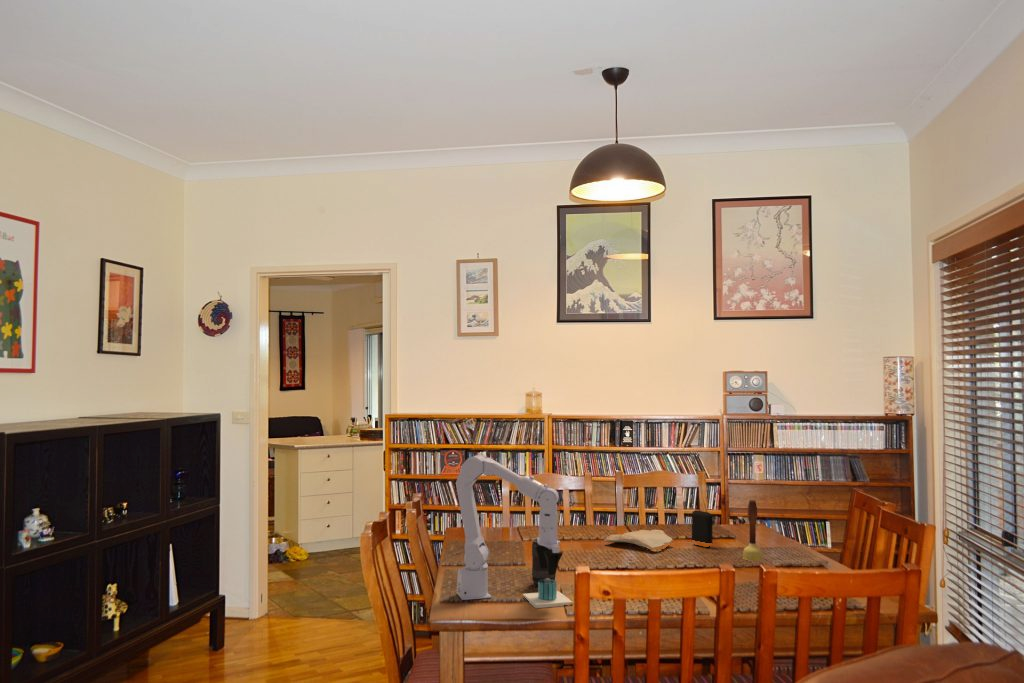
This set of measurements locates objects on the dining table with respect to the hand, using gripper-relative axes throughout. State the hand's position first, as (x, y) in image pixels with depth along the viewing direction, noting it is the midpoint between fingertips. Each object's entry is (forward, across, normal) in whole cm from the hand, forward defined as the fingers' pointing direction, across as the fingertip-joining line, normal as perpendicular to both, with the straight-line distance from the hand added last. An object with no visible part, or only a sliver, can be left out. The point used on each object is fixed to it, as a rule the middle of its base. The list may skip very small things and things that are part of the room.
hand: (547, 571), depth 232 cm
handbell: (+9, +19, -89) cm, 91 cm away
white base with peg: (+9, 0, 0) cm, 9 cm away
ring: (+8, 0, 0) cm, 8 cm away
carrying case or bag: (+9, +55, -90) cm, 106 cm away
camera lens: (+9, +17, -5) cm, 20 cm away
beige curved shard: (+10, +63, -65) cm, 91 cm away
